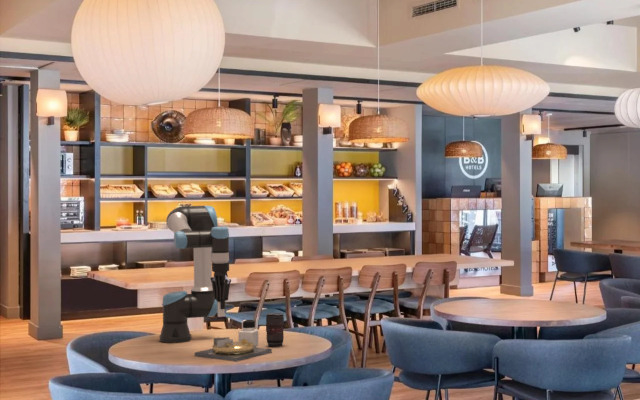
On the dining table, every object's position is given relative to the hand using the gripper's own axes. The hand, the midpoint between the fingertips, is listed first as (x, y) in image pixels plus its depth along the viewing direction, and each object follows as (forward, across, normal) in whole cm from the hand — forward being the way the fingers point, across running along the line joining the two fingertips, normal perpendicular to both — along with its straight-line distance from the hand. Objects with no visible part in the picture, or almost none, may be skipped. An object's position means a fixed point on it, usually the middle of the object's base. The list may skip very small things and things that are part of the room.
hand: (221, 316), depth 401 cm
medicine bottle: (+18, +13, -23) cm, 32 cm away
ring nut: (+16, 0, -6) cm, 17 cm away
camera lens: (+18, +4, -32) cm, 37 cm away
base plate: (+17, 0, -6) cm, 18 cm away
